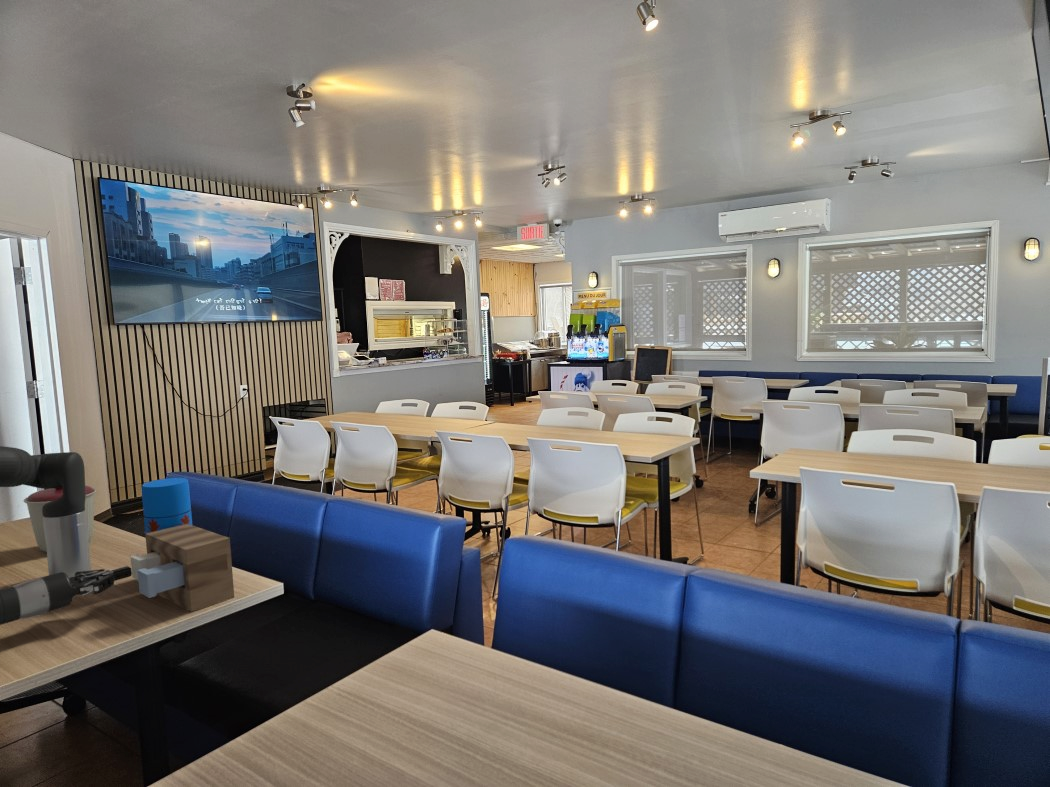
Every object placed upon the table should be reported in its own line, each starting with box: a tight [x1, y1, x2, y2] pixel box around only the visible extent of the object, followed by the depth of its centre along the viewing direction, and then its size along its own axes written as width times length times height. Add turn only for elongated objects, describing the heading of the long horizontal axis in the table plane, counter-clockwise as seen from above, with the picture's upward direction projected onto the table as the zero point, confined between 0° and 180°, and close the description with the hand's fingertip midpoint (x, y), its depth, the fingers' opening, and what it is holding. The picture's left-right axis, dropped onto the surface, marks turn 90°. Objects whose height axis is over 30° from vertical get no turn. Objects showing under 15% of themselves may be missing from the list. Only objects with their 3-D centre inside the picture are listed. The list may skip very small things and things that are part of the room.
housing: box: [144, 524, 235, 613], centre depth 157 cm, size 22×10×14 cm, turn 51°
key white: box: [130, 552, 161, 581], centre depth 158 cm, size 5×12×5 cm, turn 141°
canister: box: [23, 485, 97, 553], centre depth 198 cm, size 18×18×21 cm
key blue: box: [137, 561, 185, 599], centre depth 148 cm, size 5×12×5 cm, turn 141°
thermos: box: [141, 477, 193, 534], centre depth 169 cm, size 11×11×25 cm
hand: (130, 570), depth 152 cm, fingers closed
